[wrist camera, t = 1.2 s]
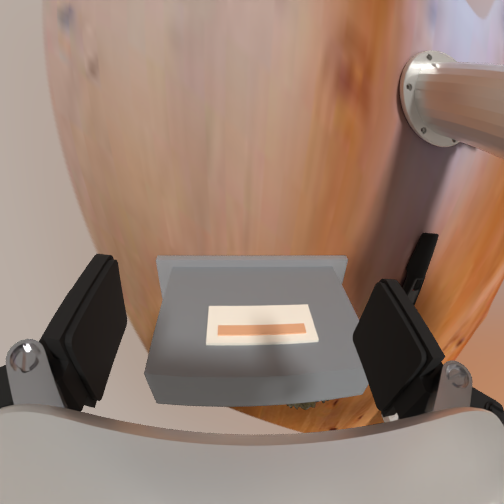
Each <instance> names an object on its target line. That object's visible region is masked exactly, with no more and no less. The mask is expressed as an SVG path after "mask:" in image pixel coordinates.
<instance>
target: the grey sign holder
mask: <svg viewBox="0 0 504 504" xmlns="http://www.w3.org/2000/svg"><path fill="white" fill-rule="evenodd" d="M347 262H348V259H347V257H346V256H345V255H344V256H157V259H156V263H157V269H158V275H159V281H160V287H161V292H162V298H163V301H162V305H161V308H160V312H159V316H158V319H157V323H156V327H155V331H154V335H153V339H152V343H151V347H150V351H149V355H148V359H147V363H146V368H145V372H144V374H145V377H146V379H147V382H148V384H149V386H150V389H151V391H152V393H153V396H154V398H155V400H156V403H159V404H172V405H187V406H218V407H219V406H220V407H236V406H267V405H283V404H295V403H305V402H314V401H323V400H330V399H337V398H344V397H350V396H356V395H362V394H363V392H364V391H365V389H366V387H367V386H368V384H369V383H368V380H367V377H366V375H365V372H364V369H363V366H362V364H361V361H360V358H359V356H358V353H357V350H356V348H355V345H354V343H353V332H354V330H355V328H356V326H357V324H358V322H359V319H358V317H357V315H356V313H355V311H354V309H353V307H352V305H351V303H350V300H349V298H348V296H347V294H346V292H345V290H344V288H343V286H342V282H343V278H344V274H345V270H346V266H347Z"/></svg>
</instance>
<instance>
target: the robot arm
mask: <svg viewBox="0 0 504 504" xmlns="http://www.w3.org/2000/svg"><path fill="white" fill-rule="evenodd" d="M406 86H407V87H406ZM400 99H401V104H402V108H403V111H404V114H405V117H406V119H407V121H408V123H409V125H410V126H411V128H412V129H413V130H414V132H415V133H416V134H417V135H418V136H419V137H420V138H421V139H423V140H425V141H426V142H428V143H430V144H433V145H435V146H439V147H450V146H454V145H455V144H457V143H459V142H462V143H465V144H468V145H470V146H473V147H476V148H478V149H481V150H483V151H485V152H488V153H490V154H493V155H495V156H497V157H500V158H502V159H504V65H501V64H489V63H469V62H457V61H455V60H454V59H453V58H452V57H450V56H449V55H447V54H445V53H442V52H439V51H432V50H431V51H423V52H420V53H417V54H416V55H414V56H413V57H412V58H411V59H410V60H409V61H408V62H407V64H406V66H405V67H404V69H403V72H402V76H401V80H400ZM126 325H127V315H126V310H125V305H124V299H123V293H122V287H121V281H120V275H119V268H118V262H117V260H114V259H113V257H112V256H111V255H104V254H96V255H95V256H94V257H93V259H92V260H91V261H90V263H89V264H88V266H87V267H86V269H85V270H84V272H83V273H82V274H81V276H80V277H79V279H78V280H77V282H76V283H75V285H74V286H73V288H72V289H71V290H70V291H69V293H68V294H67V296H66V297H65V299H64V300H63V302H62V304H61V305H60V307H59V308H58V310H57V312H56V313H55V315H54V317H53V318H52V320H51V322H50V323H49V325H48V327H47V329H46V330H45V332H44V334H43V335H42V337H41V339H40V341H39V342H38V341H36V340H33V339H25V340H21V341H19V342H17V343H16V344H14V345H13V346H12V347H11V348H10V350H9V351H8V353H7V356H6V365H4V366H2V367H0V504H504V410H503V407H502V405H501V404H500V403H498V402H497V401H496V400H494V399H492V398H490V397H488V396H487V395H485V394H483V393H482V392H480V391H478V390H476V389H475V388H473V387H472V377H471V374H470V372H469V371H468V369H467V368H466V367H465V366H464V365H462V364H461V363H459V362H457V361H447V362H446V363H445V364H444V365H443V364H442V362H441V361H442V360H443V359H444V357H445V355H444V354H443V352H442V350H441V348H440V347H439V345H438V343H437V342H436V340H435V338H434V337H433V335H432V333H431V332H430V330H429V328H428V327H427V325H426V324H425V322H424V320H423V319H422V317H421V316H420V314H419V313H418V311H417V309H416V308H415V306H414V305H413V303H412V302H411V300H410V299H409V297H408V296H407V294H406V293H405V291H404V290H403V289H402V287H401V286H400V284H399V283H398V281H397V280H394V279H381V280H380V282H378V283H377V284H376V285H375V287H374V289H373V292H372V294H371V296H370V298H369V301H368V303H367V305H366V307H365V309H364V312H363V314H362V316H361V318H360V320H359V322H358V324H357V326H356V328H355V330H354V332H353V343H354V345H355V348H356V350H357V353H358V356H359V358H360V361H361V364H362V366H363V369H364V372H365V375H366V377H367V380H368V383H369V386H370V389H371V392H372V394H373V397H374V400H375V403H376V406H377V408H378V410H381V413H382V416H383V417H387V416H392V415H395V414H396V413H397V415H398V419H397V420H395V421H390V422H385V423H380V424H374V425H368V426H362V427H356V428H349V429H341V430H333V431H323V432H312V433H299V434H277V435H238V434H215V433H202V432H191V431H182V430H173V429H166V428H159V427H152V426H146V425H141V424H135V423H129V422H124V421H119V420H114V419H110V418H105V417H101V416H96V415H92V414H89V413H84V412H81V411H82V409H83V406H84V405H86V406H89V407H94V408H95V405H96V401H97V400H98V401H100V400H101V399H102V396H103V393H104V390H105V386H106V383H107V380H108V377H109V374H110V371H111V368H112V365H113V362H114V359H115V356H116V353H117V350H118V347H119V345H120V342H121V339H122V336H123V334H124V331H125V328H126Z"/></svg>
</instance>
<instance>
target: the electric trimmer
mask: <svg viewBox="0 0 504 504" xmlns="http://www.w3.org/2000/svg"><path fill="white" fill-rule="evenodd" d="M438 236H439V235H438V234H433V233H423V234H422V236H421V238H420V240H419V242H418V244H417V247H416V249H415V251H414V253H413V255H412V257H411V259H410V261H409V264H408V266H407V269H406V270H407V278H406V280H405V283H404V285H403V287H402V289H403V290H404V291H405V293H406V294H407V296H408V297H409V299H410V300H411V302H412V303H413V305H415V302H416V300H417V297H418V295H419V292H420V290H421V287H422V284H423V282H424V279H425V275H426V272H427V269H428V266H429V264H430V261H431V258H432V255H433V252H434V249H435V246H436V243H437V239H438Z"/></svg>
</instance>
